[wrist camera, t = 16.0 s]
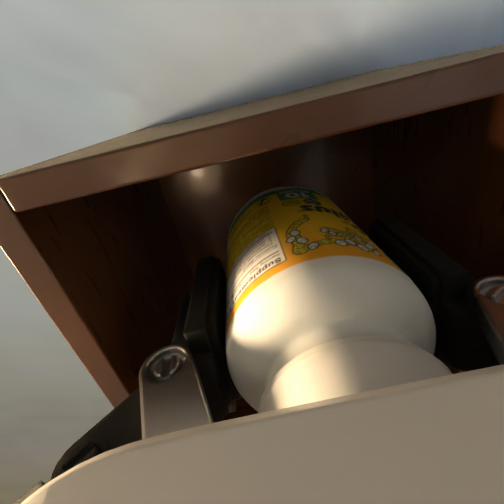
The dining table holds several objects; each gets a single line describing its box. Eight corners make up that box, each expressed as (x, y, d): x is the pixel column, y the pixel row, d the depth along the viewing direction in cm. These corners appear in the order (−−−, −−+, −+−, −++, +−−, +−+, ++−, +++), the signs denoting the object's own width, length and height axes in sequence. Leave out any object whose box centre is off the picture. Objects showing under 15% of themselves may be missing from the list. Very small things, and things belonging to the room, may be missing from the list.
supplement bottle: (204, 249, 14) (157, 501, 5) (280, 154, 12) (405, 296, 3) (290, 305, 15) (362, 561, 7) (367, 230, 14) (593, 448, 5)
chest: (130, 132, 17) (-43, 189, 6) (376, 69, 17) (654, 13, 6) (210, 337, 25) (194, 521, 14) (381, 300, 24) (504, 464, 13)
